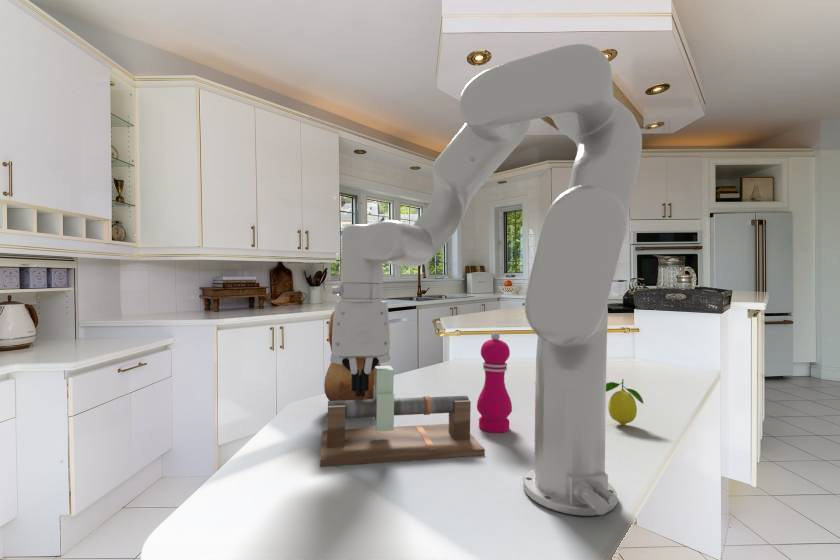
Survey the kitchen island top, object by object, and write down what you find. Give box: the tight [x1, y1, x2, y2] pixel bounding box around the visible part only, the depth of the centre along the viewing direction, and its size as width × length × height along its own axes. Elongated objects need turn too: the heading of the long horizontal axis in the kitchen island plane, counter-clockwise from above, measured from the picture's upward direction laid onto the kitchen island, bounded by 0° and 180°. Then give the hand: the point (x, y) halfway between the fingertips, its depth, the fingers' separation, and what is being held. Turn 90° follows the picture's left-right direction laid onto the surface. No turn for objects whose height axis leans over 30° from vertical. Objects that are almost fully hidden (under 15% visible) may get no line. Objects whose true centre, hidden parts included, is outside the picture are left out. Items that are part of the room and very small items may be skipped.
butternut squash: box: [323, 310, 381, 401], centre depth 97 cm, size 14×13×25 cm
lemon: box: [606, 378, 644, 426], centre depth 90 cm, size 7×6×10 cm
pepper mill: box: [476, 331, 513, 434], centre depth 87 cm, size 7×7×20 cm
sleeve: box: [372, 365, 395, 431], centre depth 77 cm, size 6×3×10 cm, turn 12°
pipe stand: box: [319, 395, 486, 467], centre depth 77 cm, size 14×28×9 cm, turn 102°
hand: (359, 394), depth 76 cm, fingers closed
